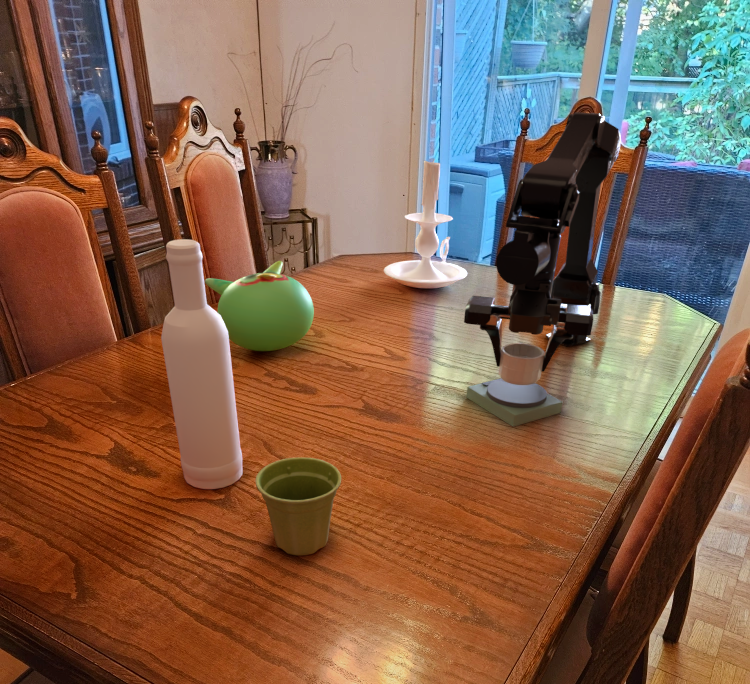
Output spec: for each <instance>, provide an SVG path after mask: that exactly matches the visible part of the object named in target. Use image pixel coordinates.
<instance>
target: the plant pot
mask: <svg viewBox="0 0 750 684" xmlns="http://www.w3.org/2000/svg"><path fill="white" fill-rule="evenodd" d="M341 483H342V474H341V472H340V470H339V469H338V468H337V466H335V465H333V464H332V463H331V462H328V461H325V460H323V459H319V458H314V457H303V456H302V457H299V456H297V457H288V458H287V457H286V458H283V459H280V460H276V461H273V462H271V463H269V464H267V465H265V466H263V468H261V470H259V471H258V473H256V476H255V486H256V489H257V490H258V492H259V493H260V494H261V497H262V499H263V501H264V502H265V505H266V509H267V513H268V517H269V520H270V525H271V528H272V533H273V537H274V541H275V544H276V546H277V548H278V549H281V550H283V551H284V552H285V553H286V554H288V555H291V556H292V555H293V556H308V555H313V554H315V553H316V552H317V551H319V550H320V549H322V548H324V547H326V545H327V544H328V541H329V532H330V525H331V519H332V513H333V507H334V499H335V497H336V494H337V491H338V490H339V488H340V487H341Z"/></svg>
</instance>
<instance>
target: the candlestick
mask: <svg viewBox="0 0 750 684" xmlns="http://www.w3.org/2000/svg"><path fill="white" fill-rule="evenodd" d="M422 174H423V175H422V195H421V204H420V205H421V206H422V212H412V213H408V214H405V215H404V219H406V220H408V221H411V222H414V223H416V224H418V225H419V226H420V231H419V233H418V235H417V237H416V238H415V240H414V245H415V249H416V251H417V254H419V256H421V260H420V259H415V260H403V261H402V260H401V261H398V262H393V263H390V264H388V265H386V266H385V267H384V268H383V273H384V274H385V275H386V276H387V277H390V278H392V280H394V281H396V282H397V283H399V284H401V285H404V286H406V287H411V288H418V289H438V288H439V289H440V288H444V287H448V286H451V285H453V284H455V283H456V282H458V281H461V280H463V279H464V278H465V279H466V277H467V276H468V272H467V270H466V269H465V268H463V267H462V266H460V265H457V264H454V263H449V262H447V261H446V260H447V256H448V253H449V250H450V239H451V236H446V237H445V238H444V239H443V240H442V241H441V242H440V240H439V237H438V235H437V233H436V227H437V226H439V225H441V224H443V223H444V224H445V223H448V222H451V221H452V220H454V218H453V216H451V215H448V214H444V213H439V212H436V208H437V207H436V206H437V201H439V190H440V189H439V188H440V187H439V186H440V176H441V163H440V162H435V158H434V159H433V161H427V160H423V173H422ZM444 247H445V248H444ZM438 249H439V257H440V258H441V261H440V260H439V261H438V260H432V256H434V255H435V254H436V253H437V251H438Z"/></svg>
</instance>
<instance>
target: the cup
mask: <svg viewBox="0 0 750 684" xmlns="http://www.w3.org/2000/svg"><path fill="white" fill-rule="evenodd" d="M545 352H546V350H544V349H543V348H542V347H539V346H538V345H535V344H531V343H525V342H512V343H507V344H505V345H503V346H502V349H501V358H500V365H499V367H498V375H499V377H500V378H501V379H502V380H504V381H506V382H508V383H511V384H515V385H531V384H534V383H536V384H537V383H538V381H539V380H540V379H541V377H542V365H543V360H544V355H545Z"/></svg>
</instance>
